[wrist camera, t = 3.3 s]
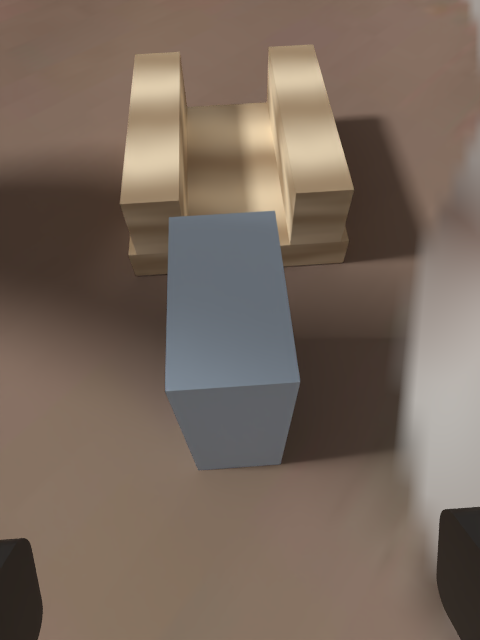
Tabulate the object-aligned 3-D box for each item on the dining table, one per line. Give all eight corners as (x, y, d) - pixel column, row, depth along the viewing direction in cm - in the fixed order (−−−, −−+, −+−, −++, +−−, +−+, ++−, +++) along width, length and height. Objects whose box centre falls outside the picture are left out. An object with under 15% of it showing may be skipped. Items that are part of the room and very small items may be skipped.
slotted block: (343, 262, 28) (363, 189, 23) (135, 275, 28) (109, 204, 23) (310, 123, 35) (320, 44, 30) (145, 133, 35) (127, 55, 30)
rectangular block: (280, 464, 22) (300, 382, 13) (198, 470, 22) (165, 391, 13) (266, 338, 25) (275, 210, 17) (196, 343, 25) (169, 217, 17)
